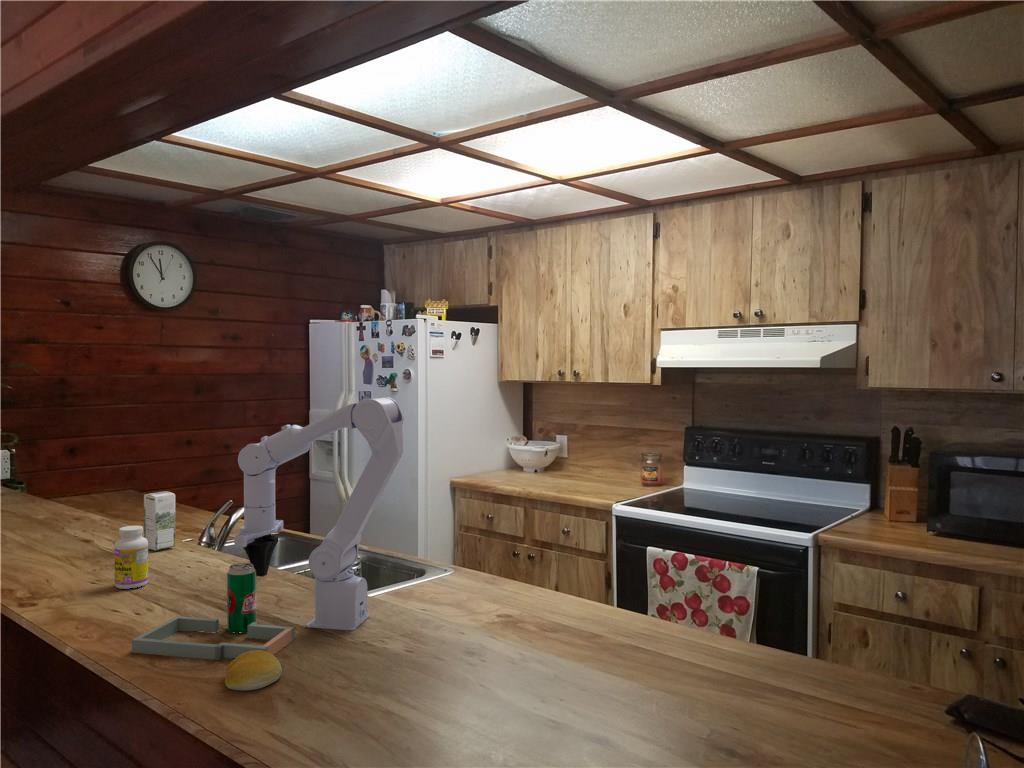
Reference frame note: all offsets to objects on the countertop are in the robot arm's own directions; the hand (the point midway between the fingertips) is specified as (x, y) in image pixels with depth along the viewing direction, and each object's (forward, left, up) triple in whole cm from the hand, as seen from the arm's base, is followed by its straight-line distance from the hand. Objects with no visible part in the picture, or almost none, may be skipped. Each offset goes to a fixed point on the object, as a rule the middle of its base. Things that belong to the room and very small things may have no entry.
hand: (260, 575), depth 143 cm
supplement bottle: (+39, -14, -9) cm, 42 cm away
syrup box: (+55, -45, -9) cm, 71 cm away
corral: (0, +14, -8) cm, 17 cm away
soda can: (0, +6, -9) cm, 11 cm away
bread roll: (-17, +28, -9) cm, 34 cm away
